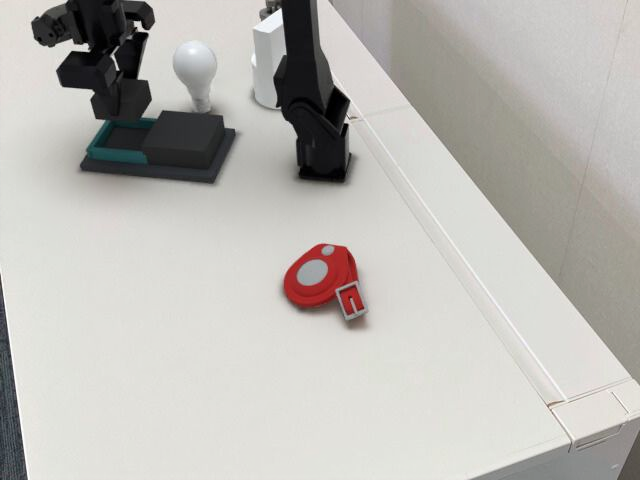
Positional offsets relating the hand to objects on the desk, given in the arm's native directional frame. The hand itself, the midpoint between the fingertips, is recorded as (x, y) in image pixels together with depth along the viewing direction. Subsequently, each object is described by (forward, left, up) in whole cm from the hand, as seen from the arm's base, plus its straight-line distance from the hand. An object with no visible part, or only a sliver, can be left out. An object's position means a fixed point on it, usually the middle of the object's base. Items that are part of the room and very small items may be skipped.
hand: (123, 102), depth 105 cm
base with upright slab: (-18, -18, -8) cm, 26 cm away
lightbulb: (-7, -11, -8) cm, 15 cm away
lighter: (-16, -29, -8) cm, 34 cm away
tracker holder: (-33, +25, -8) cm, 42 cm away
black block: (0, 0, -1) cm, 1 cm away
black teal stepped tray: (-4, 0, -8) cm, 8 cm away
